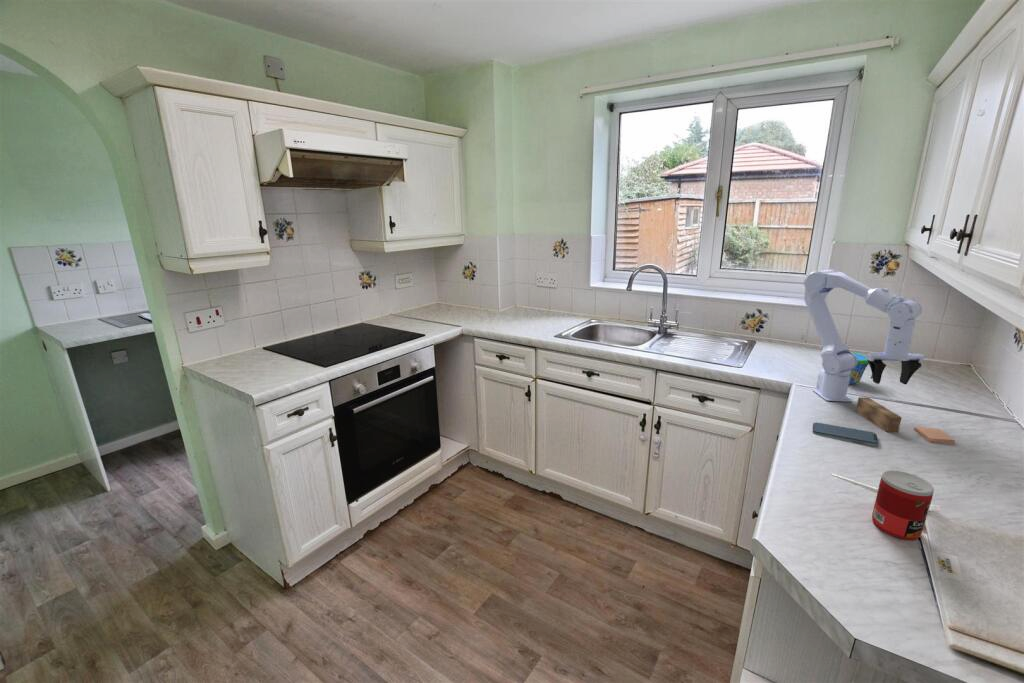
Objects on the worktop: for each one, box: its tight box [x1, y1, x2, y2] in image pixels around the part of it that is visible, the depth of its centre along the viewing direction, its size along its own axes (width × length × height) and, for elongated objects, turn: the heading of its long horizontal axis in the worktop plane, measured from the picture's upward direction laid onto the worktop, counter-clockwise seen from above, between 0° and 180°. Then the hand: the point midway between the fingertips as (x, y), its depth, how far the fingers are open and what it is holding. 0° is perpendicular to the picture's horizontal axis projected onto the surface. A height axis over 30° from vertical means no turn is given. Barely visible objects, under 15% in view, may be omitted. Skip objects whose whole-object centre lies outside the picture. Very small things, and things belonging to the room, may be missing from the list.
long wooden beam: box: [855, 396, 902, 433], centre depth 137 cm, size 14×3×5 cm, turn 176°
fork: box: [830, 473, 941, 512], centre depth 104 cm, size 3×20×2 cm, turn 39°
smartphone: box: [812, 422, 879, 447], centre depth 130 cm, size 8×2×15 cm
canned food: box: [871, 469, 935, 541], centre depth 91 cm, size 8×8×11 cm
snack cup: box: [849, 351, 873, 385], centre depth 168 cm, size 16×10×10 cm
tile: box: [913, 426, 956, 445], centre depth 128 cm, size 2×6×7 cm
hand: (889, 382), depth 140 cm, fingers open, 7 cm apart
